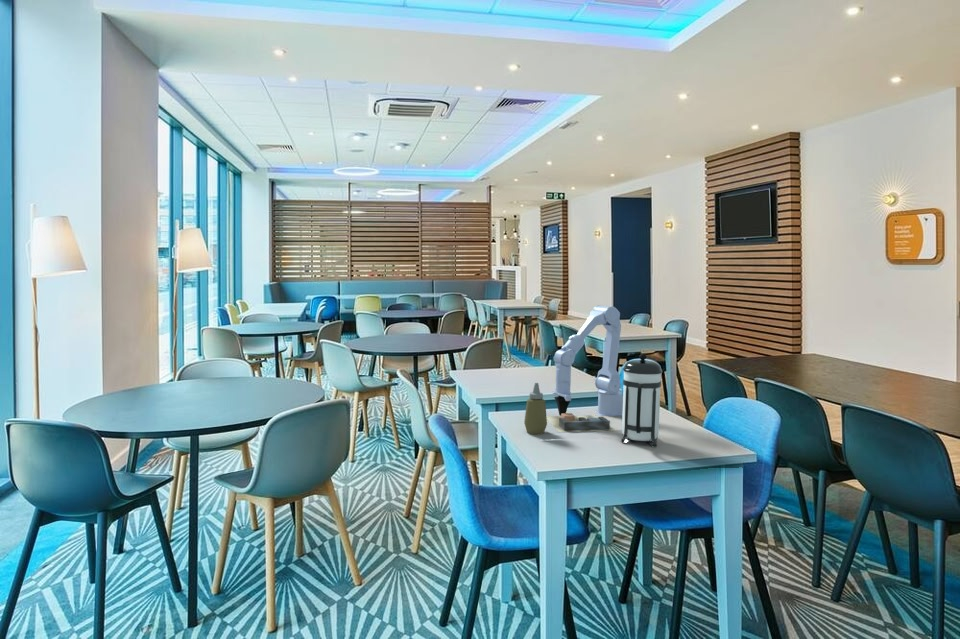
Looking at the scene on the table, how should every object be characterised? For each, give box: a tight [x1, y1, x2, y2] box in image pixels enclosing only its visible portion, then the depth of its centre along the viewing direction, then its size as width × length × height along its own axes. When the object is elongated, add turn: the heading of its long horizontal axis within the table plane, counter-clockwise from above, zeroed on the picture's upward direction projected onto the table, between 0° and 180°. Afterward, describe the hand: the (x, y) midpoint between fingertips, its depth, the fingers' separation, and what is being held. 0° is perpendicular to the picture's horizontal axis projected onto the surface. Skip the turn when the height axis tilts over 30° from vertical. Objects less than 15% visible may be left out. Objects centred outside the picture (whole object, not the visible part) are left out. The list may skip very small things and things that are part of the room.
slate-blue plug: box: [587, 418, 600, 421], centre depth 206 cm, size 4×4×3 cm
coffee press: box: [620, 353, 663, 447], centre depth 189 cm, size 17×16×30 cm
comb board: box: [546, 414, 618, 433], centre depth 211 cm, size 22×22×4 cm
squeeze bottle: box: [524, 382, 548, 435], centre depth 198 cm, size 8×8×18 cm
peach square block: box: [561, 412, 576, 421], centre depth 212 cm, size 4×4×3 cm
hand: (562, 415), depth 219 cm, fingers closed
